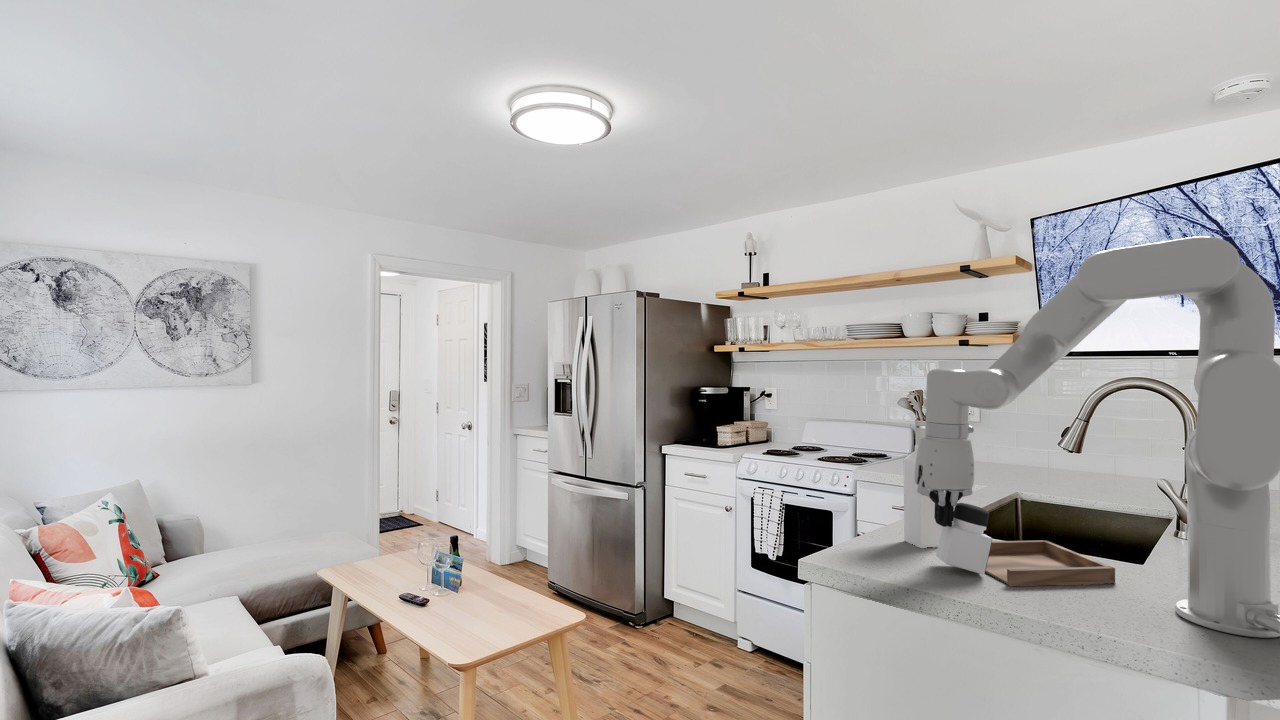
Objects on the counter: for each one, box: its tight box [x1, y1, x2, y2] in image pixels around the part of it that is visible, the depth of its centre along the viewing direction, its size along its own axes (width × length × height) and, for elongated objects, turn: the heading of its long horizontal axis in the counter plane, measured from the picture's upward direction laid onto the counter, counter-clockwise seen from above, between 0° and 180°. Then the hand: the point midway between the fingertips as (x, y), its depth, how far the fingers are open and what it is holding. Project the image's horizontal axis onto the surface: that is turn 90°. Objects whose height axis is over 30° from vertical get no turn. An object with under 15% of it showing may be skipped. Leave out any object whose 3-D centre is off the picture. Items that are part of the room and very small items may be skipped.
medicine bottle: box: [936, 502, 993, 575], centre depth 123 cm, size 7×7×12 cm
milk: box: [903, 444, 943, 549], centre depth 141 cm, size 6×6×22 cm
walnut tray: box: [985, 539, 1116, 587], centre depth 123 cm, size 18×20×3 cm
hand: (943, 524), depth 123 cm, fingers closed
